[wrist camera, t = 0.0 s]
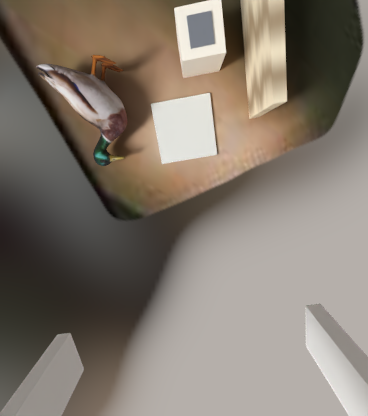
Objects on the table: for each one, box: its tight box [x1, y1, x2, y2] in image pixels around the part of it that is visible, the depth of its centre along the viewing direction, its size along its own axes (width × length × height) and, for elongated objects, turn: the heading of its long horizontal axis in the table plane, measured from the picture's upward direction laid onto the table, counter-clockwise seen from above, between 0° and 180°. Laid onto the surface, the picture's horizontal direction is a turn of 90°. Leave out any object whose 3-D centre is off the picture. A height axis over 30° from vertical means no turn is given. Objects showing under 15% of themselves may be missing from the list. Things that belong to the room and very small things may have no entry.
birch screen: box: [241, 0, 287, 119], centre depth 26 cm, size 20×2×10 cm, turn 9°
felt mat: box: [151, 93, 217, 164], centre depth 34 cm, size 10×10×1 cm
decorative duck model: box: [36, 55, 128, 166], centre depth 31 cm, size 15×8×15 cm
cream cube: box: [174, 0, 226, 78], centre depth 29 cm, size 6×6×6 cm
